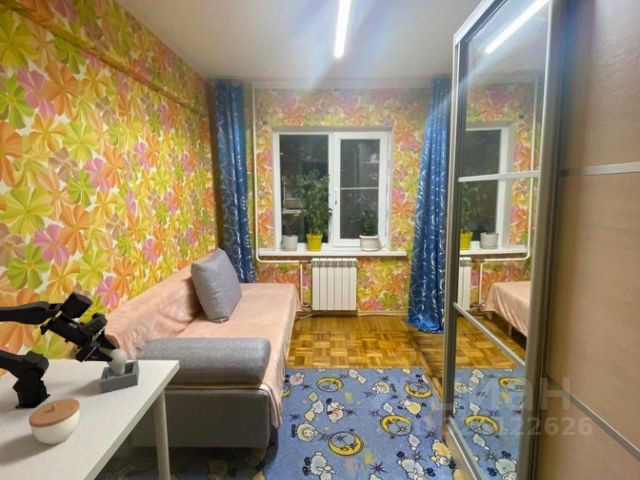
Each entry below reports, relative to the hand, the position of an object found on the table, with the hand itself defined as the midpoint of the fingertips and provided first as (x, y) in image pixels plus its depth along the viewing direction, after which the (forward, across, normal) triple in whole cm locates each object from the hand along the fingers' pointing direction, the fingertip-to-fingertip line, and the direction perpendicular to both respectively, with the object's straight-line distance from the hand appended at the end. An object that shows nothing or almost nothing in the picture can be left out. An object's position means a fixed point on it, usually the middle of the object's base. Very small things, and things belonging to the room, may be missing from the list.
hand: (113, 354), depth 120 cm
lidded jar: (-1, -23, +16) cm, 28 cm away
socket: (+8, 0, +6) cm, 10 cm away
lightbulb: (+7, -1, +6) cm, 9 cm away
